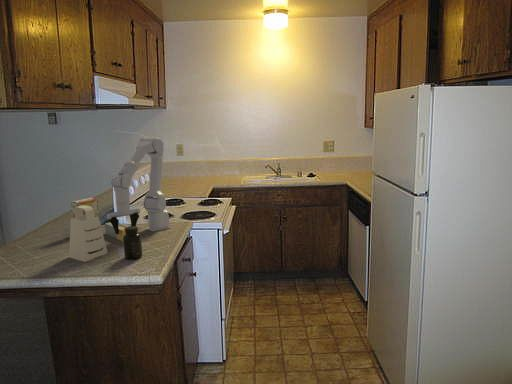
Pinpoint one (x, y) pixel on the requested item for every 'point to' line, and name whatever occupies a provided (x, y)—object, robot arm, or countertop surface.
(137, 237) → the supplement bottle
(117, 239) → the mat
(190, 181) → the countertop surface
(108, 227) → the block
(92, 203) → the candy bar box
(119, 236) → the stub
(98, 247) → the grater
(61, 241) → the countertop surface
